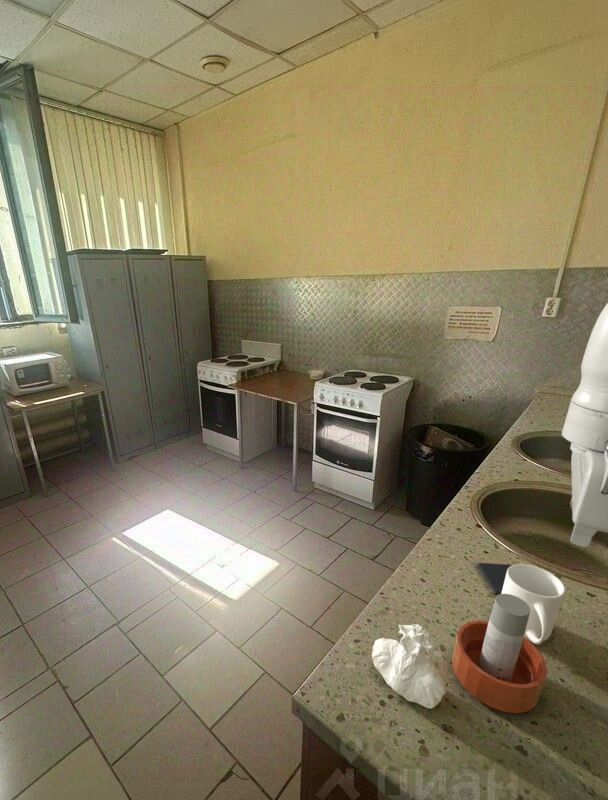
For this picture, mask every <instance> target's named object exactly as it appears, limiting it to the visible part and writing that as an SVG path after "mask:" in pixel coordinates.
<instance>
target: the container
mask: <svg viewBox="0 0 608 800" xmlns="http://www.w3.org/2000/svg"><path fill="white" fill-rule="evenodd" d="M529 614H530V608H529V606H528V604H527V603H526V602H524V601H523V600H522V599H520V598H518V597H516V596H514V595H510V594H499V595H496V596H495V599H494V603H493V605H492V609H491V613H490V616H489V620H488V621H489V623H488V627H487V631H486V635H485V639H484V643H483V647H482V651H481V655H480V659H479V663H478V667H479V668H480V669H482V670H483V671H484V672H486V673H488V674H489V675H491V676H493V677H495V678H496V679H499V680H502V681H505V682H508V683H510V682H511V679H512V675H513V672H514V669H515V665H516V662H517V658H518V655H519V652H520V648H521V645H522V642H523V638H524V634H525V630H526V626H527V622H528V618H529Z"/></svg>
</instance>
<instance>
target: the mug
mask: <svg viewBox="0 0 608 800" xmlns="http://www.w3.org/2000/svg"><path fill="white" fill-rule="evenodd" d="M511 565H512V566H510V567H509V568H508V570H507V573H506V577H505V581H504V585H503V589H502V593H501V594H510V595H514V596H516V597H518V598H520V599H522V600H523V601H524V602H526V603H527V604H528V606H529V608H530V614H529V618H528V622H527V626H526V630H525V634H524V637H525V638H526V639H528V640H529V641H530V642H531V643H532V644H533V645H538V646H539V645H541V644H543V642H545V641H547V640H548V639H549V638H550V637H551V635H552V633H553V629H554V626H555V623H556V620H557V618H558V614H559V611H560V608H561V605H562V603H563V600H564V596H565V594H566V587H565V585H564V582H562V581H561V579H559V578H558V577H557V576H556V575H555V574H553V573H551V572H550V571H548V570H546V569H544V568H542V567H539V566H537V565H533V564H526V563H515V564H511Z"/></svg>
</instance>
